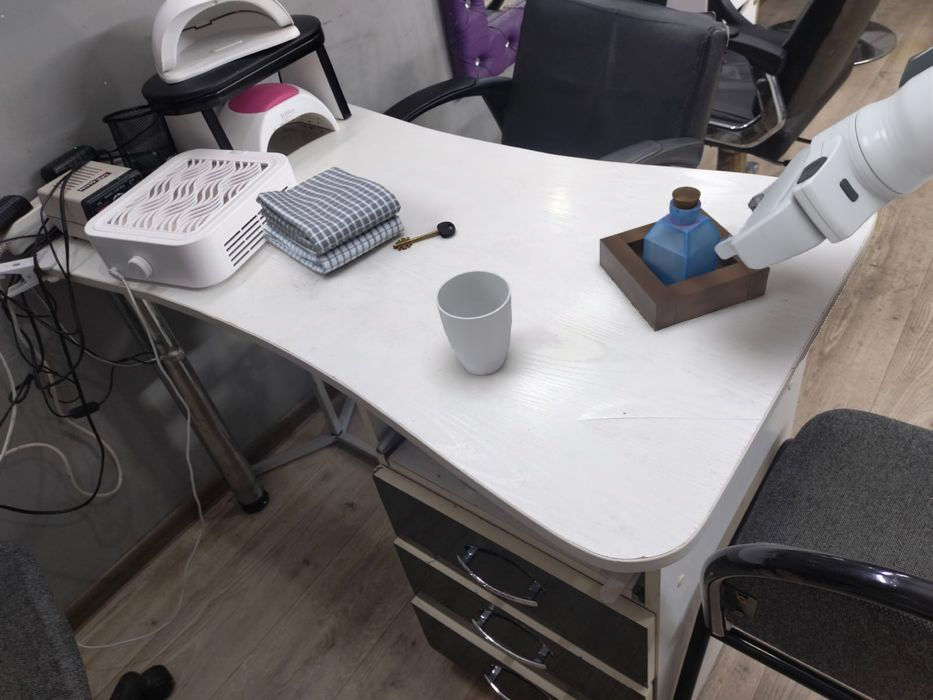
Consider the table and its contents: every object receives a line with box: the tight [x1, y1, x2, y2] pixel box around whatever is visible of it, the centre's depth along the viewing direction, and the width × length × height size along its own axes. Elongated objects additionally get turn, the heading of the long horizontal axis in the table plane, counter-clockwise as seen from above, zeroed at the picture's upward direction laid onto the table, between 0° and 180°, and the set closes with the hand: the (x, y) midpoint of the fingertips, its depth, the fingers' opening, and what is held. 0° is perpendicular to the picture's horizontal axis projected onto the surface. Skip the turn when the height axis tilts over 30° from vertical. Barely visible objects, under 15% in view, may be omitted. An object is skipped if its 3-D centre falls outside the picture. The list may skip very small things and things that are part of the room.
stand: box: [599, 207, 771, 332], centre depth 84 cm, size 14×14×4 cm
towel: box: [255, 166, 405, 275], centre depth 100 cm, size 15×18×8 cm
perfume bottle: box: [643, 185, 720, 286], centre depth 82 cm, size 6×6×12 cm
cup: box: [435, 269, 513, 376], centre depth 76 cm, size 8×8×10 cm
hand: (737, 228), depth 75 cm, fingers open, 8 cm apart
